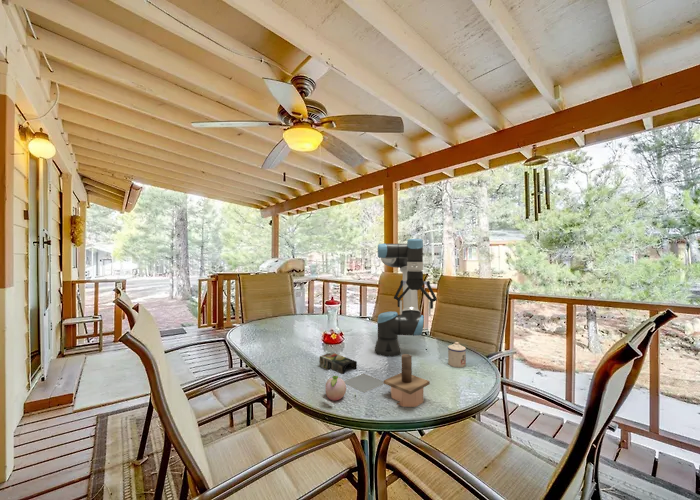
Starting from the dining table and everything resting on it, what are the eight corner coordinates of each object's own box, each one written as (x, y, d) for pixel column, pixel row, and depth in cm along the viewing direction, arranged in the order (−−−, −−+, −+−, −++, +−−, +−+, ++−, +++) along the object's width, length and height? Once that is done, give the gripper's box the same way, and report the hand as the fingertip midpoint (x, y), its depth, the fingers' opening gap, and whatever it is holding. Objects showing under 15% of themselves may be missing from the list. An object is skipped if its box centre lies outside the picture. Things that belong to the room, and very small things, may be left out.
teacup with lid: (464, 369, 152) (464, 346, 152) (446, 365, 157) (446, 343, 157) (468, 361, 163) (468, 340, 163) (450, 358, 167) (450, 337, 167)
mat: (341, 385, 134) (341, 381, 134) (363, 376, 143) (363, 373, 143) (364, 396, 123) (364, 392, 123) (386, 386, 133) (386, 382, 133)
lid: (383, 383, 122) (383, 355, 122) (403, 374, 131) (403, 348, 131) (410, 394, 112) (410, 364, 112) (429, 384, 121) (429, 356, 121)
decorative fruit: (346, 406, 115) (346, 380, 115) (325, 407, 115) (325, 380, 115) (345, 395, 125) (345, 370, 125) (325, 395, 124) (325, 371, 124)
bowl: (384, 398, 122) (384, 383, 122) (403, 388, 130) (403, 374, 130) (410, 410, 113) (410, 394, 113) (428, 399, 121) (428, 384, 121)
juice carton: (317, 366, 157) (317, 354, 157) (331, 361, 164) (332, 350, 164) (342, 378, 142) (342, 365, 142) (357, 373, 149) (357, 360, 149)
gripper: (388, 270, 146) (388, 314, 146) (441, 271, 139) (442, 317, 139) (390, 269, 153) (390, 311, 153) (441, 270, 146) (442, 314, 146)
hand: (415, 314), depth 146 cm, fingers open, 13 cm apart
